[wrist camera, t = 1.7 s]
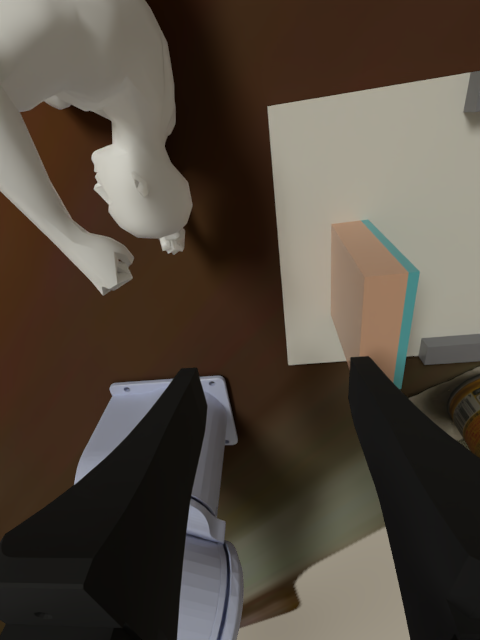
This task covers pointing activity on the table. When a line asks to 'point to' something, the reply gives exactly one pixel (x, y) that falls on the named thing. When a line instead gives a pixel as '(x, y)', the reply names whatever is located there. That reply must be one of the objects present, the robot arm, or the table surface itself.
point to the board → (382, 206)
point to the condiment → (455, 407)
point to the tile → (372, 296)
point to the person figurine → (104, 99)
